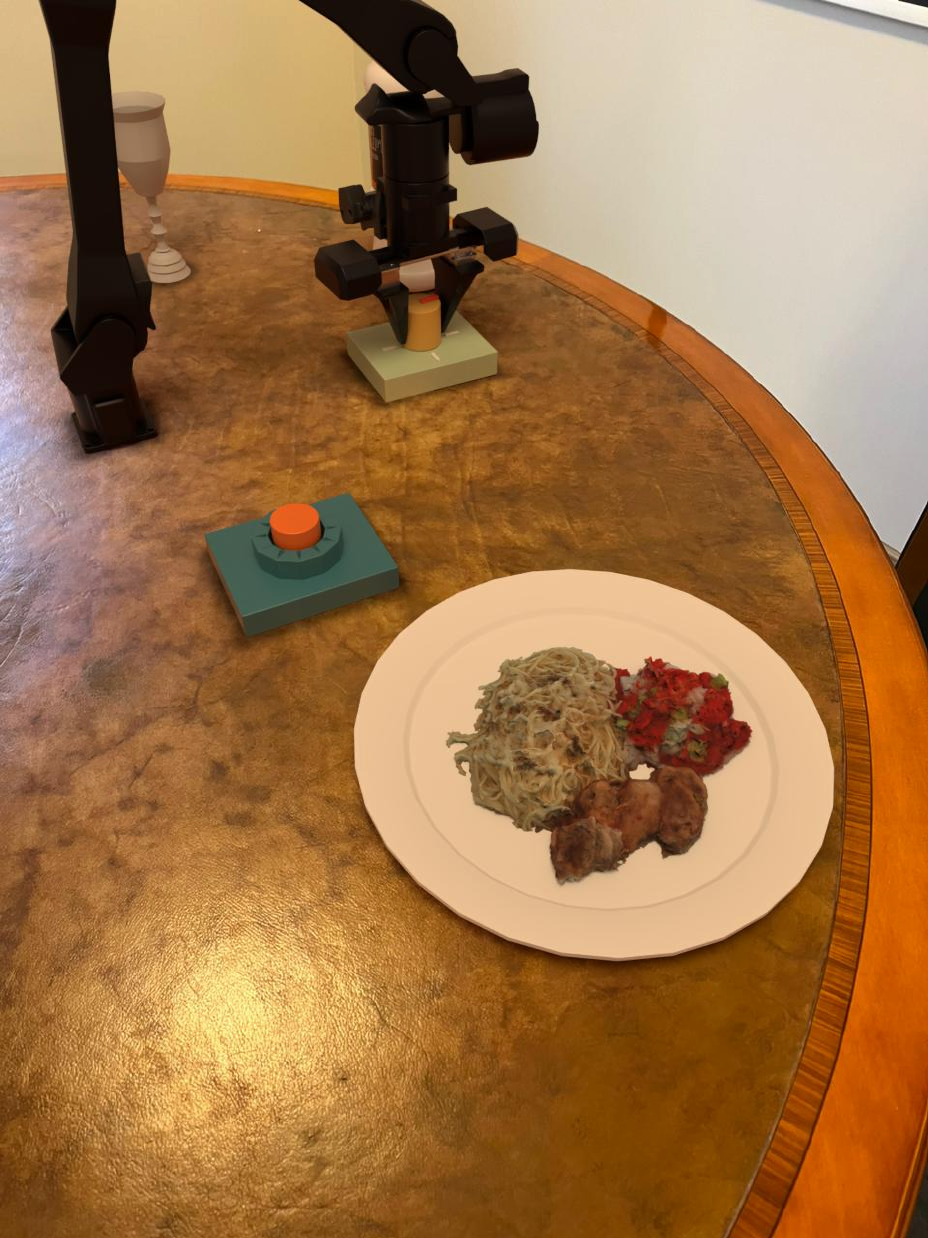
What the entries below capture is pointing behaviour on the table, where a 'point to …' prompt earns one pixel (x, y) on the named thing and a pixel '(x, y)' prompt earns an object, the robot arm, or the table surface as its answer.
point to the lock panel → (420, 359)
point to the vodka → (414, 274)
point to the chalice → (147, 169)
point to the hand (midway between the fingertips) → (421, 336)
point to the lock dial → (423, 322)
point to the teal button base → (301, 567)
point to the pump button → (295, 526)
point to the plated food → (593, 764)
